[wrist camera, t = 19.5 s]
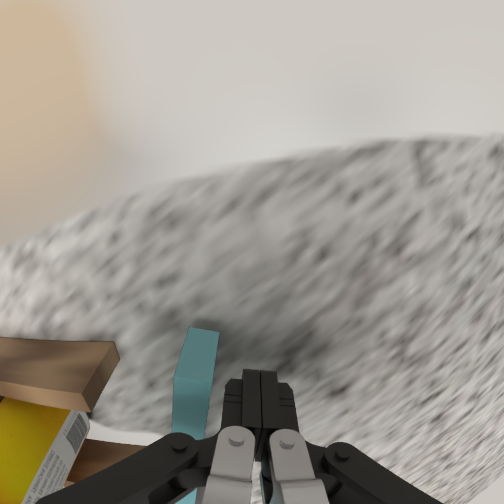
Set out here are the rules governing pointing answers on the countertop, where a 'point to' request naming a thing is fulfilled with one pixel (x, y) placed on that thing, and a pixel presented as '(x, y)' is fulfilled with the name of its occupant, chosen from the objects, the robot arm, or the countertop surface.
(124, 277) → the countertop surface
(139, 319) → the countertop surface
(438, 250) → the countertop surface
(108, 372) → the corral
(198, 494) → the gate
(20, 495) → the beer can
